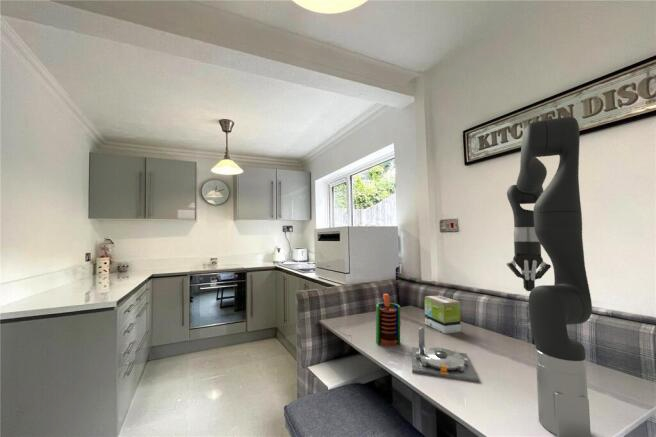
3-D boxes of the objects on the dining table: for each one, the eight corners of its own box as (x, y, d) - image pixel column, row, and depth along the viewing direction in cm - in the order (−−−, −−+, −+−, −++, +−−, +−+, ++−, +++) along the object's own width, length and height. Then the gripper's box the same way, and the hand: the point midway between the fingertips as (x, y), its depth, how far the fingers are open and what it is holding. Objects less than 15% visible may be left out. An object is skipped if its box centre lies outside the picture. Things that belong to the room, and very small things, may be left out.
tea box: (424, 324, 142) (423, 295, 143) (440, 322, 145) (439, 294, 146) (444, 334, 128) (443, 302, 129) (461, 332, 131) (460, 300, 132)
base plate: (479, 382, 85) (479, 378, 85) (412, 372, 90) (412, 369, 90) (466, 356, 104) (466, 352, 104) (411, 349, 109) (411, 346, 109)
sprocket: (471, 358, 99) (470, 328, 99) (461, 376, 85) (460, 342, 86) (425, 347, 109) (424, 320, 110) (409, 361, 96) (409, 331, 96)
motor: (381, 347, 111) (381, 297, 113) (372, 339, 120) (372, 293, 121) (403, 345, 114) (402, 296, 116) (392, 337, 123) (392, 292, 124)
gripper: (544, 240, 97) (546, 290, 95) (501, 240, 100) (503, 287, 99) (555, 240, 89) (557, 294, 88) (509, 240, 93) (511, 291, 92)
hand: (529, 290), depth 94 cm, fingers closed
